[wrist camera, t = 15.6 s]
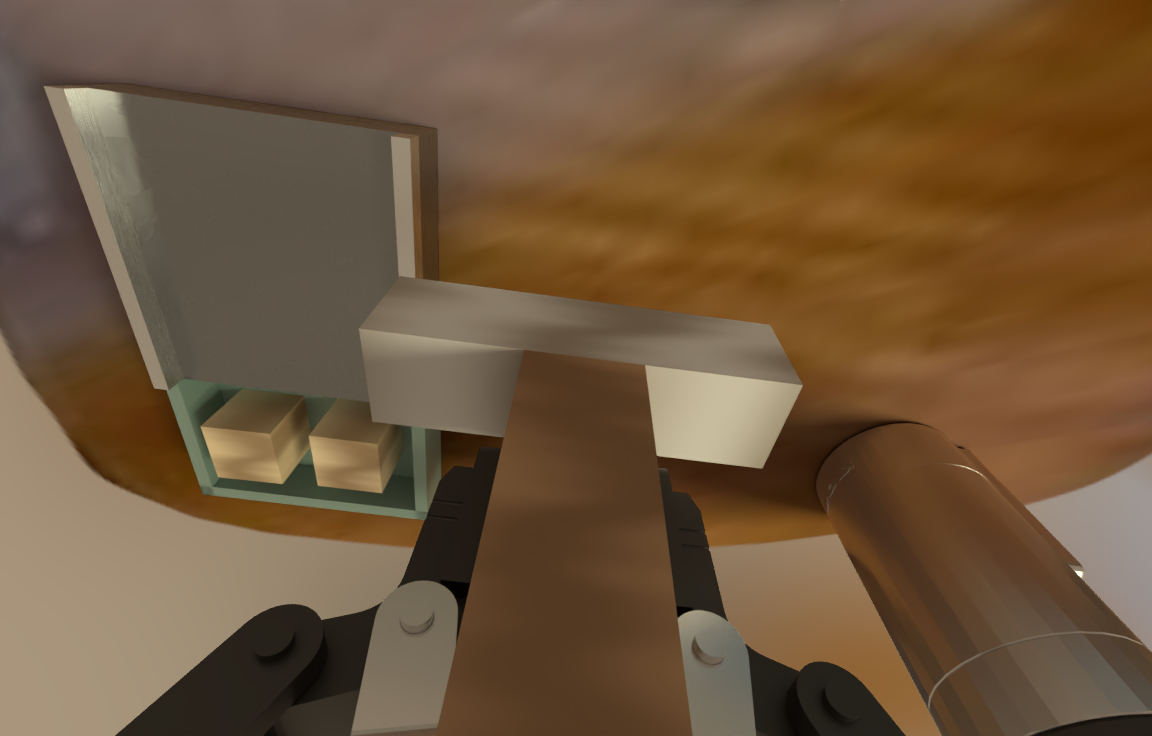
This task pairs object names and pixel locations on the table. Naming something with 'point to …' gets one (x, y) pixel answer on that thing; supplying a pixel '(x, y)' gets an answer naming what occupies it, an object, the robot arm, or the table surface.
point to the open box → (251, 229)
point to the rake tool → (573, 487)
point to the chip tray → (309, 460)
